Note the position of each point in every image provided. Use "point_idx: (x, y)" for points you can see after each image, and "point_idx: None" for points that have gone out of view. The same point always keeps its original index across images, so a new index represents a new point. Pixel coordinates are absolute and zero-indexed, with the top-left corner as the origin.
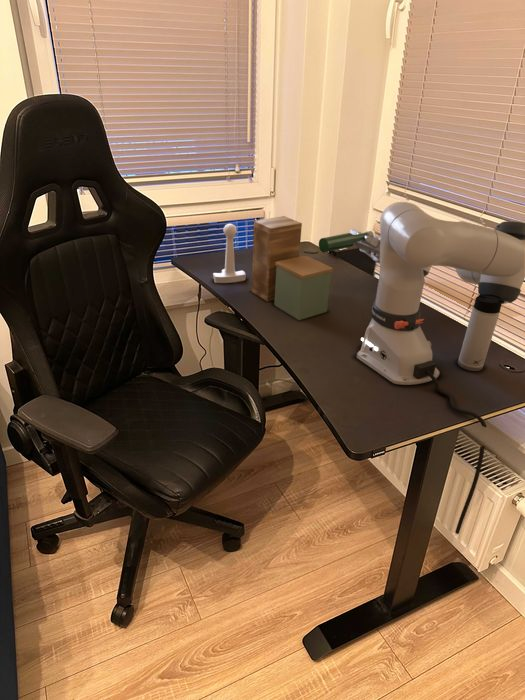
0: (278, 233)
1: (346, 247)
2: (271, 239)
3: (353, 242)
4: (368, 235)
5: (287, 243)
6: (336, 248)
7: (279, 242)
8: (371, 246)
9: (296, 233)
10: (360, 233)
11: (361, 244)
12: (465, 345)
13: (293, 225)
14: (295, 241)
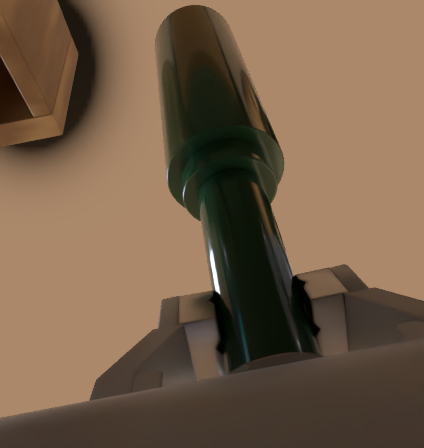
0: (65, 46)
1: (247, 95)
2: (61, 14)
3: (281, 154)
4: None
5: (35, 14)
6: (239, 52)
7: (48, 9)
8: (399, 353)
9: (46, 78)
10: None
11: (104, 417)
12: None
13: (66, 104)
14: (27, 37)
